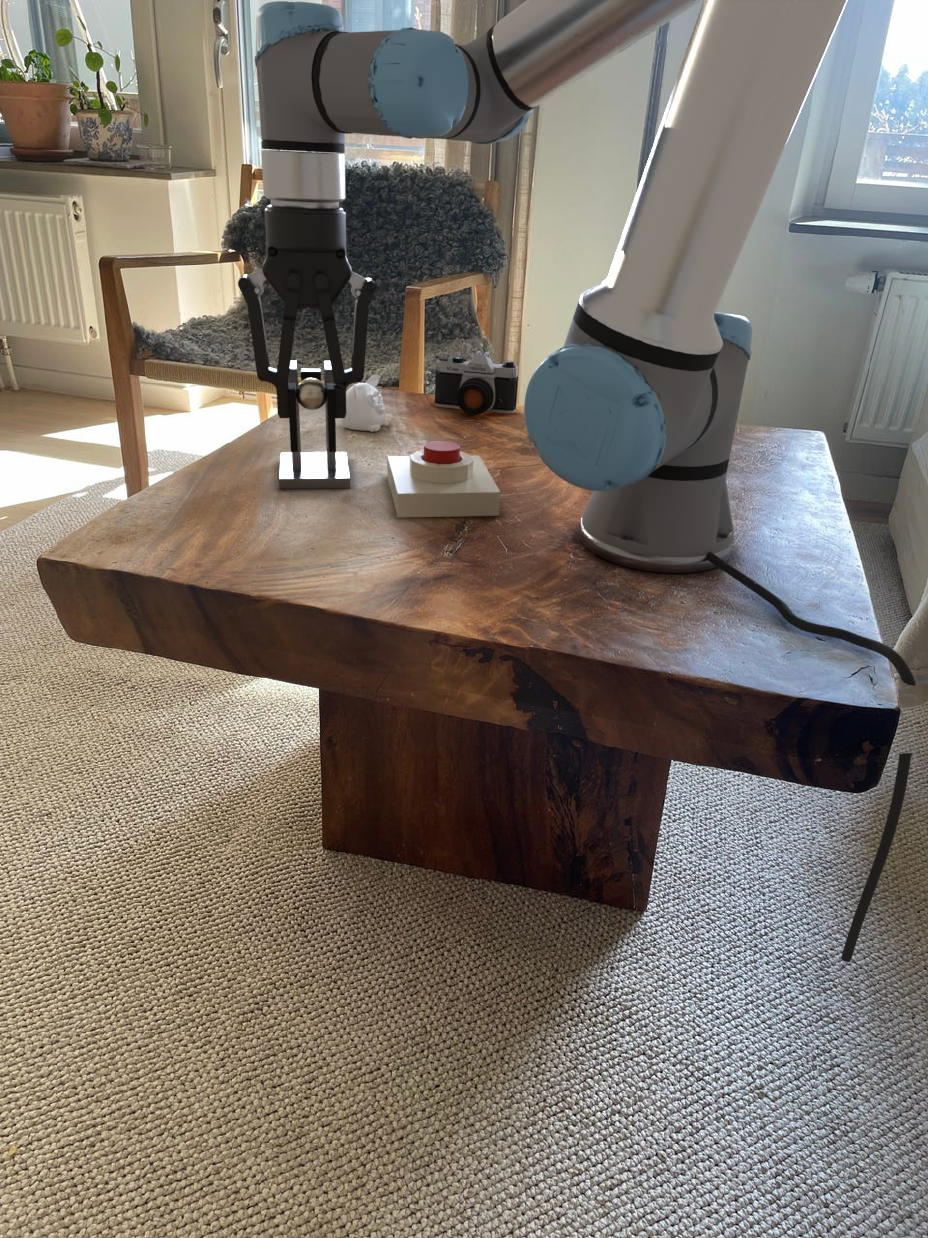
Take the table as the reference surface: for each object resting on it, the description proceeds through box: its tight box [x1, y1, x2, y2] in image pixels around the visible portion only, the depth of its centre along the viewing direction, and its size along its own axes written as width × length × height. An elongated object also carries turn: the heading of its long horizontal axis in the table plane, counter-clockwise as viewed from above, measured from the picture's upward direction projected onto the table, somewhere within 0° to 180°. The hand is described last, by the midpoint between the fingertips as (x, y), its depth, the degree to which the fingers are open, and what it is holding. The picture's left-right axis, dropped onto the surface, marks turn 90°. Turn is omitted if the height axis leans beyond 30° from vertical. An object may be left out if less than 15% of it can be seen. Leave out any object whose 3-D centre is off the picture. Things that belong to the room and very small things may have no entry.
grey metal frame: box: [278, 360, 351, 490], centre depth 102 cm, size 10×8×13 cm
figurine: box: [339, 373, 390, 433], centre depth 123 cm, size 8×6×7 cm
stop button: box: [423, 440, 461, 464], centre depth 98 cm, size 4×4×2 cm
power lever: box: [296, 368, 327, 411], centre depth 96 cm, size 13×3×3 cm, turn 9°
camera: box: [433, 350, 519, 417], centre depth 133 cm, size 13×8×9 cm, turn 81°
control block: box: [386, 449, 501, 518], centre depth 100 cm, size 13×11×4 cm
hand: (313, 447), depth 94 cm, fingers closed on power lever, 3 cm apart
